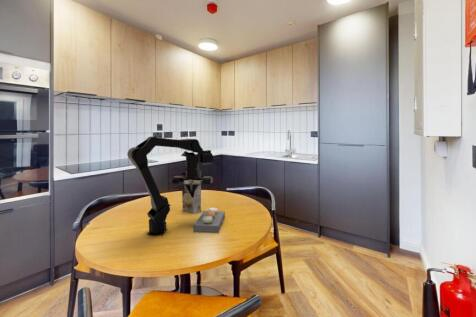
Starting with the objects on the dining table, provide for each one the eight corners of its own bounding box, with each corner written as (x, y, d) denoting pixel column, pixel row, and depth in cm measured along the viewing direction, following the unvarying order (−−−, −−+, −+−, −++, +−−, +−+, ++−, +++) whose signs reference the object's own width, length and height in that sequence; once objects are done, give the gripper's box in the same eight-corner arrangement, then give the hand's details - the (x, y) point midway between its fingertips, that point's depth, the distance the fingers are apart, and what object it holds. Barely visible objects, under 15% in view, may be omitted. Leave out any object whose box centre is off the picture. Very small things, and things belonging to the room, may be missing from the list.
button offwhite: (207, 213, 126) (207, 210, 125) (209, 210, 130) (209, 207, 130) (216, 213, 125) (216, 210, 125) (218, 211, 130) (218, 207, 129)
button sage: (201, 223, 113) (201, 219, 113) (204, 219, 117) (203, 215, 117) (211, 223, 112) (211, 219, 112) (213, 219, 117) (213, 216, 117)
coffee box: (181, 211, 142) (181, 183, 140) (189, 208, 147) (189, 181, 145) (194, 213, 137) (193, 184, 135) (201, 210, 142) (201, 182, 140)
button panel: (193, 232, 112) (193, 225, 112) (204, 216, 132) (203, 210, 132) (218, 232, 111) (218, 225, 111) (224, 217, 131) (224, 211, 131)
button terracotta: (205, 218, 119) (204, 214, 119) (206, 214, 124) (206, 211, 123) (214, 218, 119) (214, 214, 119) (215, 215, 123) (215, 211, 123)
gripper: (214, 163, 126) (215, 193, 128) (178, 162, 128) (179, 192, 130) (210, 166, 115) (210, 199, 117) (170, 166, 117) (171, 198, 119)
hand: (192, 197), depth 121 cm, fingers closed
